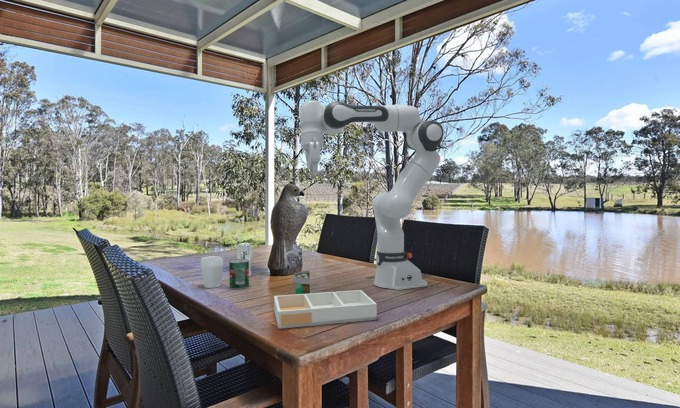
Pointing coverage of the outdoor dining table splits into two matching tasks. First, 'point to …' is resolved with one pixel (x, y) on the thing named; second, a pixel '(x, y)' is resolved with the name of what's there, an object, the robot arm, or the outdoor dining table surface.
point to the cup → (212, 271)
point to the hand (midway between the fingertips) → (314, 176)
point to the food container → (302, 282)
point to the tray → (323, 308)
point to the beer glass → (245, 253)
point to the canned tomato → (239, 273)
